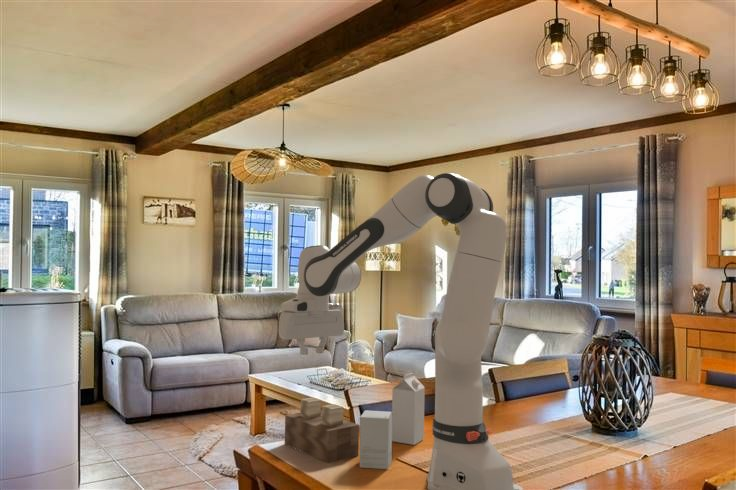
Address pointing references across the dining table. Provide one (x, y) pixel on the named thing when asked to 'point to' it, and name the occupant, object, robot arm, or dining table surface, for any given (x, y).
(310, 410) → the birch peg far
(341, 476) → the dining table surface
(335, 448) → the walnut block
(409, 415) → the milk carton
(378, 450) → the supplement box
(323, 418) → the birch peg near
